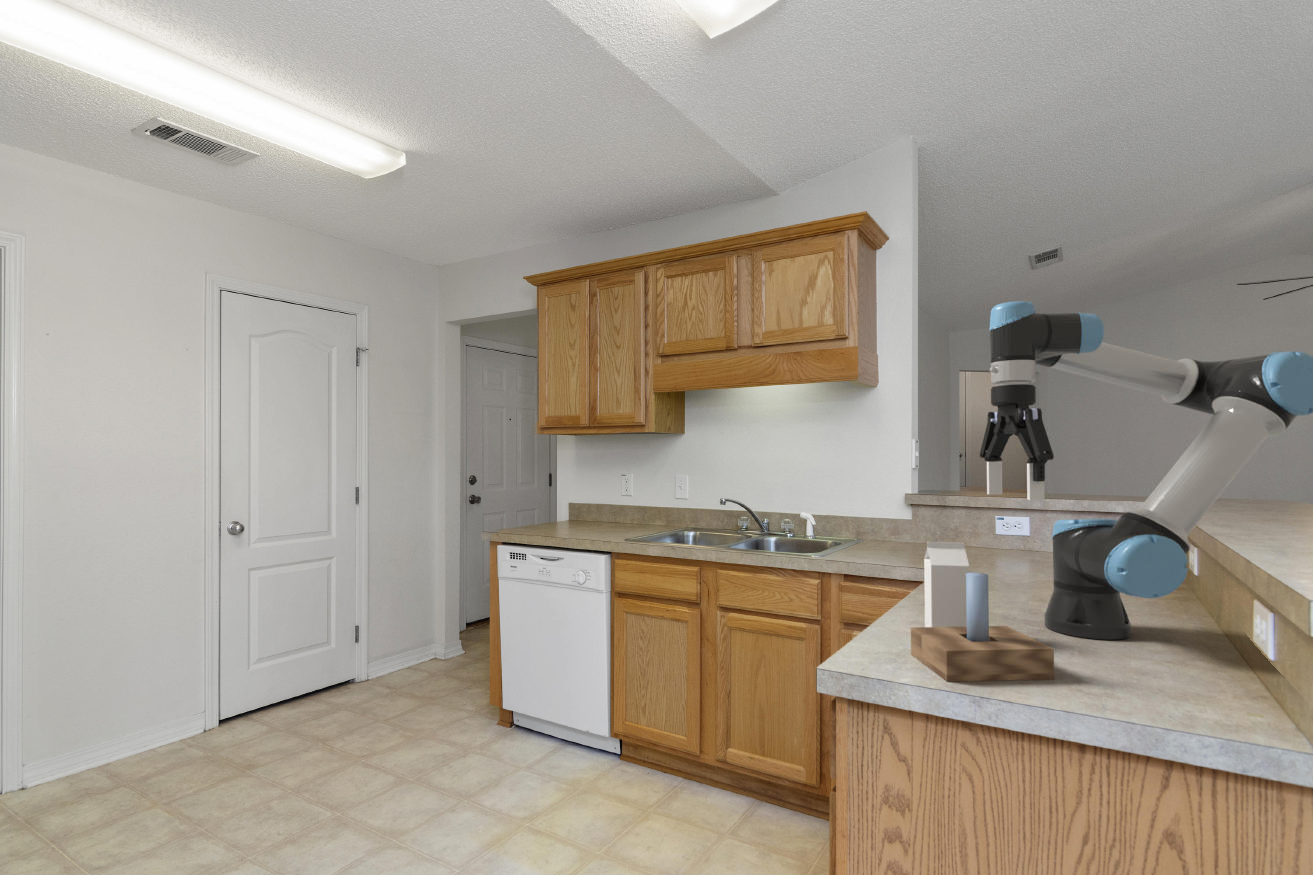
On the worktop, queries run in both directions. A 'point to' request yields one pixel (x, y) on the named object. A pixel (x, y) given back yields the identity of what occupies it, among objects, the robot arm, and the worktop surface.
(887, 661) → the worktop surface
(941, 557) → the milk carton
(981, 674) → the bore block
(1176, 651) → the worktop surface
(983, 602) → the pin
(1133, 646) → the worktop surface
